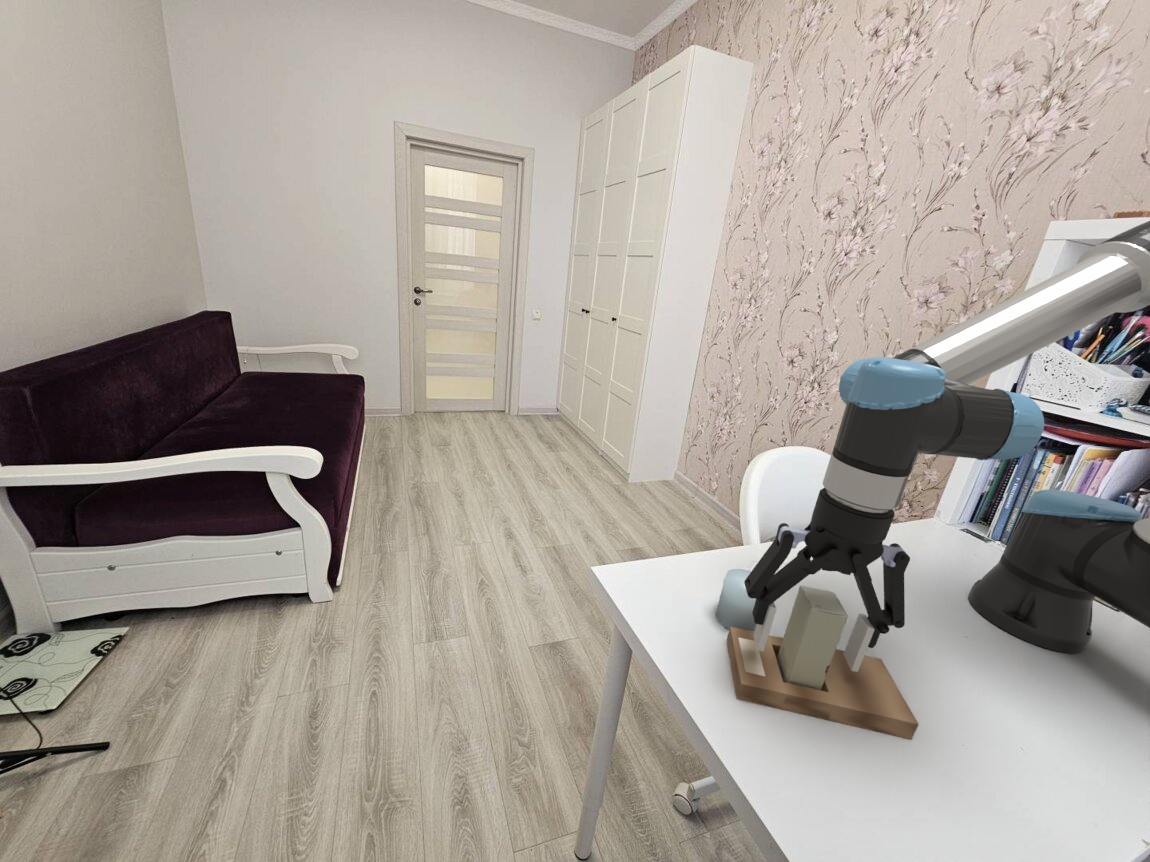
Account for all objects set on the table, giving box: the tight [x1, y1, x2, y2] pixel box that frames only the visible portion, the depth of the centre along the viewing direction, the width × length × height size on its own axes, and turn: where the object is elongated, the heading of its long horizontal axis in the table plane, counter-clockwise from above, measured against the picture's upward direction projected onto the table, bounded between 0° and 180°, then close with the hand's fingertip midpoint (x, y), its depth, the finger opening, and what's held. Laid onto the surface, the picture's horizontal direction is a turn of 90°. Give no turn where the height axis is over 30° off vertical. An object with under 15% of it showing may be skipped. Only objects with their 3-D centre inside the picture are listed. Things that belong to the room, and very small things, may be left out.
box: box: [777, 584, 848, 690], centre depth 59 cm, size 5×4×13 cm
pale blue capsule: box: [715, 568, 757, 632], centre depth 70 cm, size 6×6×7 cm
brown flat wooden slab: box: [726, 627, 920, 740], centre depth 61 cm, size 20×10×2 cm, turn 80°
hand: (803, 653), depth 60 cm, fingers open, 10 cm apart
